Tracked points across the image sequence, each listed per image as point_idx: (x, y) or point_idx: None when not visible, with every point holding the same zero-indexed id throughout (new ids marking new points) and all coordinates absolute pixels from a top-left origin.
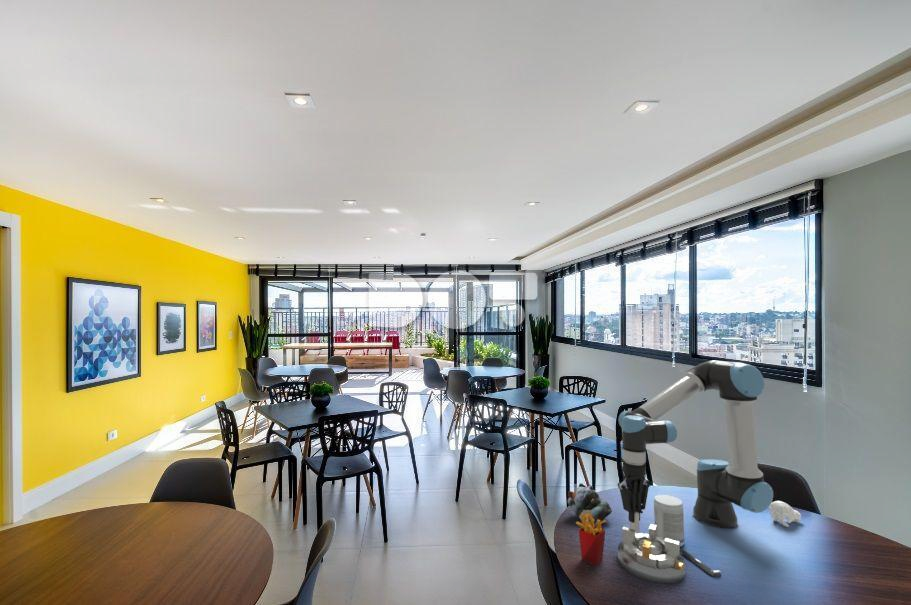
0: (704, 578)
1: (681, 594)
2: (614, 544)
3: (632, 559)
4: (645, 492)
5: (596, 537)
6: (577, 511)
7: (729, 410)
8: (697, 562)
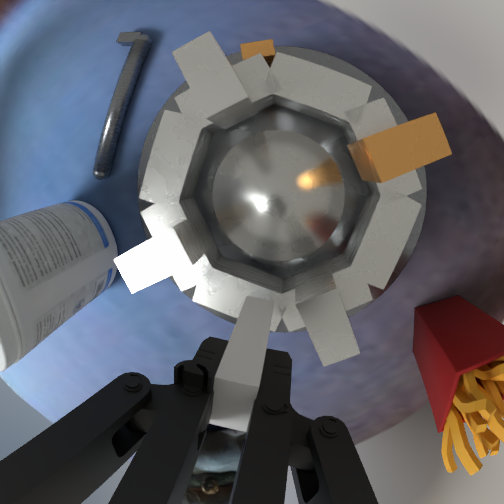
0: (186, 38)
1: (353, 27)
2: (283, 347)
3: None
4: (23, 488)
5: None
6: None
7: None
8: (125, 93)
